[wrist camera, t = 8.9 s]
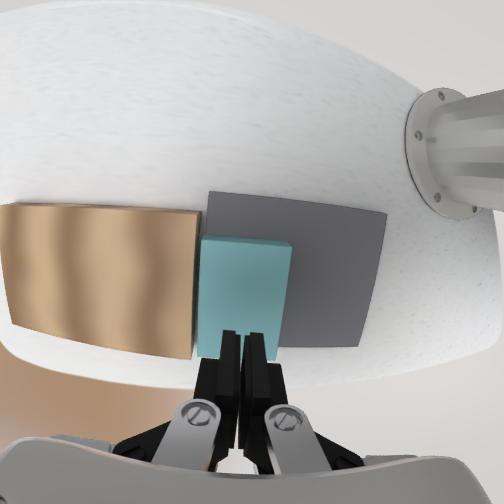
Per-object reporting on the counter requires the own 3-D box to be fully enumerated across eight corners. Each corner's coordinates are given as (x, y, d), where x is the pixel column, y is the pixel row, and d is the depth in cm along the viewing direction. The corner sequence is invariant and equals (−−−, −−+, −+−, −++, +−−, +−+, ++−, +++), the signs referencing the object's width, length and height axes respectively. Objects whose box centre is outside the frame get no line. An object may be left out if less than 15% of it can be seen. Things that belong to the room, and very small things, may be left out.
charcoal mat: (384, 213, 22) (387, 213, 21) (355, 343, 24) (357, 346, 24) (209, 191, 20) (208, 191, 20) (200, 339, 23) (199, 342, 23)
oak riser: (200, 211, 21) (196, 215, 18) (194, 343, 23) (190, 360, 21) (15, 202, 19) (-2, 205, 16) (25, 313, 21) (12, 323, 19)
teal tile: (286, 241, 21) (292, 247, 19) (271, 347, 23) (275, 360, 21) (204, 234, 21) (201, 239, 19) (199, 343, 23) (197, 356, 21)
